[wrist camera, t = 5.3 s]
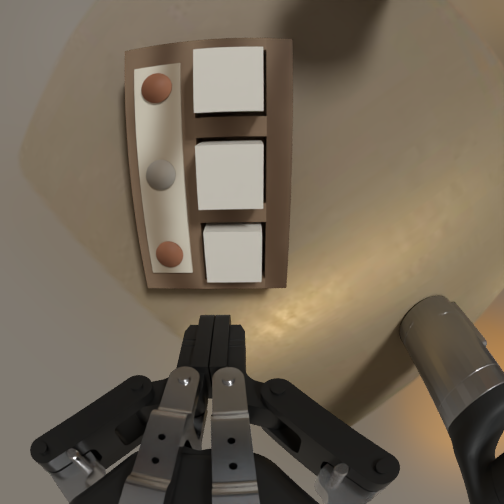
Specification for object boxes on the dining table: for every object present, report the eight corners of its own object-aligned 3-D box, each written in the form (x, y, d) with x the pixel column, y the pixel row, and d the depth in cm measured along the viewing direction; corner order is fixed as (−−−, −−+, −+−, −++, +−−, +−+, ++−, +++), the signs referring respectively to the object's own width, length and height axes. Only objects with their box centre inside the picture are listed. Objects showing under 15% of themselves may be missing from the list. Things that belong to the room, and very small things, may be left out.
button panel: (286, 48, 23) (293, 37, 19) (282, 268, 33) (286, 290, 29) (140, 58, 23) (122, 50, 19) (157, 268, 33) (146, 290, 29)
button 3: (261, 55, 21) (263, 46, 17) (261, 111, 23) (263, 110, 20) (200, 57, 21) (193, 49, 17) (201, 113, 23) (193, 112, 20)
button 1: (260, 217, 29) (262, 231, 25) (260, 263, 31) (261, 282, 28) (208, 218, 29) (203, 232, 25) (211, 264, 31) (207, 282, 28)
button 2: (261, 140, 24) (263, 144, 21) (261, 196, 26) (263, 208, 23) (202, 141, 24) (194, 145, 21) (204, 197, 26) (198, 210, 23)
